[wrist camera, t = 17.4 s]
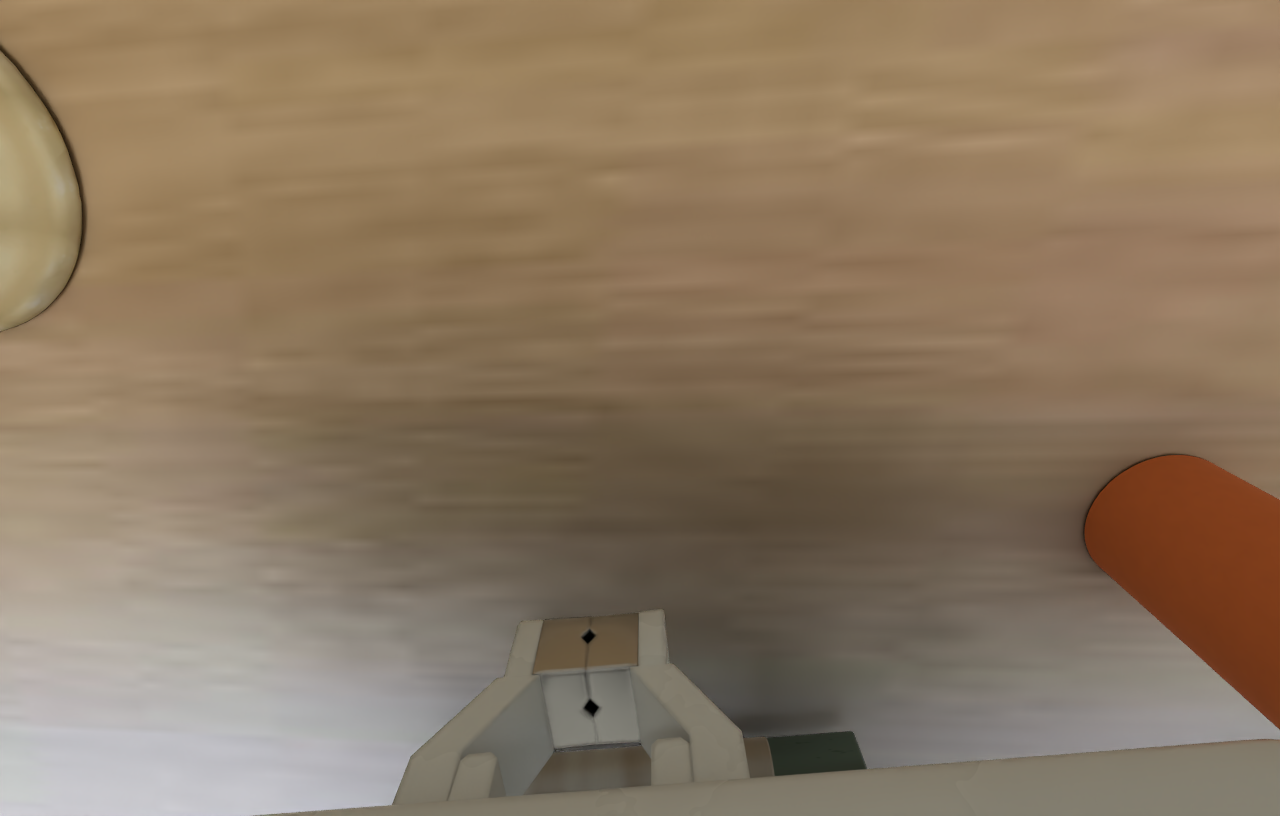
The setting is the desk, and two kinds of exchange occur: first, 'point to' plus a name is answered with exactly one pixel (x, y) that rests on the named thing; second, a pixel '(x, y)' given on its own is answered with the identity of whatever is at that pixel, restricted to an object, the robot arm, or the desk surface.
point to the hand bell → (33, 203)
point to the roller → (1199, 564)
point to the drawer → (635, 763)
